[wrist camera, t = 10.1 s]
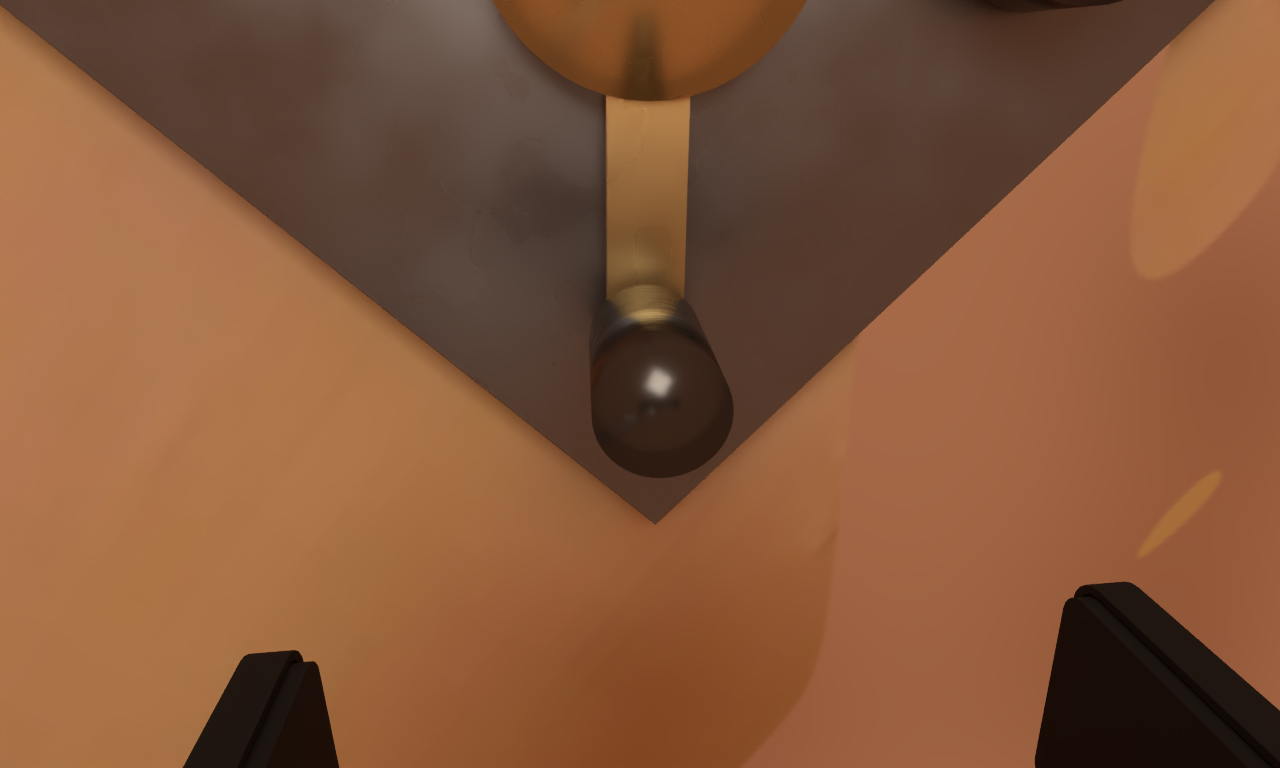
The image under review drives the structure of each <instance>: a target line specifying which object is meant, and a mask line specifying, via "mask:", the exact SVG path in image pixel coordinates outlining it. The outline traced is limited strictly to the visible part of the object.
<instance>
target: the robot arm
mask: <svg viewBox="0 0 1280 768" xmlns="http://www.w3.org/2000/svg"><path fill="white" fill-rule="evenodd" d="M183 768H339V765H338V760H337V755H336V750H335V745H334V740H333V735H332V730H331V725H330V721H329V716H328V711H327V706H326V701H325V696H324V691H323V686H322V681H321V677H320V672H319V668H318V665H317V664H316V662H313V661H311V662H303V658H302V656H301V654H300V653H299V651H296V650H291V651H279V652H267V653H254V654H248V655H246V656H244V657H243V659H242V660H241V661H240V663H239V665H238V666H237V668H236V670H235V672H234V674H233V676H232V678H231V679H230V681H229V683H228V685H227V687H226V689H225V691H224V692H223V694H222V696H221V698H220V700H219V702H218V703H217V705H216V707H215V709H214V711H213V713H212V715H211V716H210V718H209V720H208V722H207V724H206V726H205V728H204V729H203V731H202V733H201V735H200V737H199V739H198V740H197V742H196V744H195V746H194V748H193V750H192V752H191V753H190V755H189V757H188V759H187V761H186V763H185V765H184V766H183ZM1035 768H1280V711H1279V710H1278V709H1277V708H1276V707H1275V706H1274V705H1272V704H1271V703H1270V702H1269V701H1268V700H1267V699H1266V698H1264V697H1263V696H1262V695H1261V694H1260V693H1259V692H1258V691H1256V690H1255V689H1254V688H1253V687H1252V686H1251V685H1250V684H1248V683H1247V682H1246V681H1245V680H1244V679H1243V678H1242V677H1240V676H1239V675H1238V674H1237V673H1236V672H1235V671H1233V670H1232V669H1231V668H1230V667H1229V666H1228V665H1227V664H1226V663H1224V662H1223V661H1222V660H1221V659H1220V658H1219V657H1218V656H1216V655H1215V654H1214V653H1213V652H1212V651H1211V650H1210V649H1208V648H1207V647H1206V646H1205V645H1204V644H1203V643H1202V642H1200V641H1199V640H1198V639H1197V638H1195V636H1194V635H1192V634H1191V633H1190V632H1189V631H1188V630H1187V629H1185V628H1184V627H1183V626H1182V625H1181V624H1180V623H1178V622H1177V621H1176V620H1175V619H1174V618H1173V617H1172V616H1171V615H1169V614H1168V613H1167V612H1166V611H1165V610H1164V609H1163V608H1161V607H1160V606H1159V605H1158V604H1157V603H1156V602H1155V601H1153V600H1152V599H1151V598H1150V597H1149V596H1147V594H1145V593H1144V592H1143V591H1142V590H1141V589H1140V588H1138V587H1137V586H1135V585H1134V584H1132V583H1129V582H1115V583H1103V584H1091V585H1084V586H1081V587H1079V589H1078V590H1077V591H1076V592H1075V595H1074V598H1070V599H1068V600H1067V601H1066V602H1065V605H1064V608H1063V613H1062V618H1061V623H1060V628H1059V634H1058V639H1057V644H1056V649H1055V655H1054V660H1053V665H1052V671H1051V676H1050V681H1049V686H1048V692H1047V697H1046V703H1045V707H1044V713H1043V718H1042V723H1041V728H1040V734H1039V739H1038V745H1037V750H1036V755H1035Z"/></svg>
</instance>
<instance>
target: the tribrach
mask: <svg viewBox="0 0 1280 768" xmlns="http://www.w3.org/2000/svg"><path fill="white" fill-rule="evenodd" d="M1213 1H1215V0H807V1H806V3H805V5H804V7H803V8H802V10H801V12H800V13H799V15H798V16H797V18H796V19H795V21H794V22H793V23H792V25H791V26H790V28H789V29H788V31H787V32H786V33H785V34H784V35H783V36H782V38H781V39H780V40H779V41H778V42H777V43H776V44H775V46H774V47H773V48H772V49H771V50H770V51H769V52H768V53H766V54H765V55H764V56H763V57H762V58H761V59H760V60H759V61H758V62H756V63H755V64H754V65H753V66H751V67H750V68H748V69H747V70H746V71H744V72H743V73H741V74H740V75H738V76H737V77H735V78H734V79H732V80H730V81H728V82H726V83H724V84H722V85H720V86H718V87H716V88H714V89H711V90H708V91H705V92H702V93H699V94H697V95H694V96H690V120H689V152H688V185H687V217H686V250H685V282H684V299H685V300H686V301H687V302H688V303H689V304H690V305H691V307H692V308H693V310H694V311H695V313H696V315H697V317H698V320H699V322H700V324H701V326H702V328H703V331H704V333H705V335H706V337H707V340H708V342H709V344H710V346H711V348H712V351H713V353H714V355H715V357H716V359H717V362H718V364H719V366H720V368H721V371H722V373H723V375H724V377H725V379H726V382H727V384H728V386H729V388H730V391H731V394H732V399H733V405H734V415H733V422H732V426H731V430H730V432H729V435H728V437H727V439H726V441H725V443H724V444H723V446H722V447H721V448H720V450H719V451H718V452H717V453H716V454H715V455H714V456H713V457H712V458H711V459H710V460H709V461H708V462H706V463H705V464H704V465H702V466H701V467H699V468H697V469H695V470H693V471H691V472H689V473H686V474H683V475H680V476H675V477H670V478H650V477H644V476H640V475H636V474H634V473H631V472H629V471H627V470H625V469H623V468H621V467H620V466H618V465H617V464H616V463H614V462H613V461H612V460H611V459H610V458H609V457H608V456H607V455H606V454H605V453H604V451H603V450H602V449H601V447H600V445H599V443H598V442H597V439H596V437H595V434H594V430H593V426H592V416H591V388H590V359H589V332H590V327H591V324H592V321H593V318H594V316H595V314H596V312H597V311H598V309H599V308H600V307H601V306H602V304H603V303H604V302H605V301H606V233H605V95H604V94H601V93H598V92H596V91H593V90H590V89H587V88H585V87H583V86H581V85H579V84H577V83H575V82H573V81H571V80H569V79H567V78H565V77H564V76H562V75H561V74H559V73H558V72H556V71H555V70H554V69H552V68H551V67H549V66H548V65H547V64H545V63H544V62H543V61H542V60H540V59H539V58H538V57H537V56H536V55H535V54H534V53H533V52H532V51H531V50H530V49H529V48H527V47H526V46H525V44H524V43H523V42H522V41H521V40H520V39H519V37H518V36H517V35H516V34H515V33H514V31H513V30H512V29H511V28H510V27H509V25H508V24H507V22H506V21H505V19H504V18H503V16H502V15H501V13H500V12H499V10H498V8H497V7H496V5H495V3H494V1H493V0H0V5H1V6H2V7H4V8H5V9H6V10H7V11H9V12H10V13H11V14H12V15H14V16H15V17H16V18H18V19H19V20H20V21H21V22H23V23H24V24H25V25H26V26H28V27H29V28H30V29H31V30H33V31H34V32H35V33H36V34H38V35H39V36H40V37H41V38H43V39H44V40H45V41H47V42H48V43H49V44H50V45H52V46H53V47H54V48H55V49H57V50H58V51H59V52H60V53H62V54H63V55H64V56H65V57H67V58H68V59H69V60H70V61H72V62H73V63H74V64H76V65H77V66H78V67H79V68H81V69H82V70H83V71H84V72H86V73H87V74H88V75H89V76H91V77H92V78H93V79H94V80H96V81H97V82H98V83H99V84H101V85H102V86H103V87H105V88H106V89H107V90H108V91H110V92H111V93H112V94H113V95H115V96H116V97H117V98H118V99H120V100H121V101H122V102H123V103H125V104H126V105H127V106H128V107H130V108H131V109H132V110H134V111H135V112H136V113H137V114H139V115H140V116H141V117H142V118H144V119H145V120H146V121H147V122H149V123H150V124H151V125H152V126H154V127H155V128H156V129H158V130H159V131H160V132H161V133H163V134H164V135H165V136H166V137H168V138H169V139H170V140H171V141H173V142H174V143H175V144H176V145H178V146H179V147H180V148H181V149H183V150H184V151H185V152H187V153H188V154H189V155H190V156H192V157H193V158H194V159H195V160H197V161H198V162H199V163H200V164H202V165H203V166H204V167H205V168H207V169H208V170H209V171H210V172H212V173H213V174H214V175H216V176H217V177H218V178H219V179H221V180H222V181H223V182H224V183H226V184H227V185H228V186H229V187H231V188H232V189H233V190H234V191H236V192H237V193H238V194H239V195H241V196H242V197H243V198H245V199H246V200H247V201H248V202H250V203H251V204H252V205H253V206H255V207H256V208H257V209H258V210H260V211H261V212H262V213H263V214H265V215H266V216H267V217H268V218H270V219H271V220H272V221H274V222H275V223H276V224H277V225H279V226H280V227H281V228H282V229H284V230H285V231H286V232H287V233H289V234H290V235H291V236H292V237H294V238H295V239H296V240H297V241H299V242H300V243H301V244H303V245H304V246H305V247H306V248H308V249H309V250H310V251H311V252H313V253H314V254H315V255H316V256H318V257H319V258H320V259H321V260H323V261H324V262H325V263H326V264H328V265H329V266H330V267H332V268H333V269H334V270H335V271H337V272H338V273H339V274H340V275H342V276H343V277H344V278H345V279H347V280H348V281H349V282H350V283H352V284H353V285H354V286H355V287H357V288H358V289H359V290H361V291H362V292H363V293H364V294H366V295H367V296H368V297H369V298H371V299H372V300H373V301H374V302H376V303H377V304H378V305H379V306H381V307H382V308H383V309H384V310H386V311H387V312H388V313H390V314H391V315H392V316H393V317H395V318H396V319H397V320H398V321H400V322H401V323H402V324H403V325H405V326H406V327H407V328H408V329H410V330H411V331H412V332H413V333H415V334H416V335H417V336H419V337H420V338H421V339H422V340H424V341H425V342H426V343H427V344H429V345H430V346H431V347H432V348H434V349H435V350H436V351H437V352H439V353H440V354H441V355H443V356H444V357H445V358H446V359H448V360H449V361H450V362H451V363H453V364H454V365H455V366H456V367H458V368H459V369H460V370H461V371H463V372H464V373H465V374H466V375H468V376H469V377H470V378H472V379H473V380H474V381H475V382H477V383H478V384H479V385H480V386H482V387H483V388H484V389H485V390H487V391H488V392H489V393H490V394H492V395H493V396H494V397H495V398H497V399H498V400H499V401H501V402H502V403H503V404H504V405H506V406H507V407H508V408H509V409H511V410H512V411H513V412H514V413H516V414H517V415H518V416H519V417H521V418H522V419H523V420H524V421H526V422H527V423H528V424H530V425H531V426H532V427H533V428H535V429H536V430H537V431H538V432H540V433H541V434H542V435H543V436H545V437H546V438H547V439H548V440H550V441H551V442H552V443H553V444H555V445H556V446H557V447H559V448H560V449H561V450H562V451H564V452H565V453H566V454H567V455H569V456H570V457H571V458H572V459H574V460H575V461H576V462H577V463H579V464H580V465H581V466H582V467H584V468H585V469H586V470H588V471H589V472H590V473H591V474H593V475H594V476H595V477H596V478H598V479H599V480H600V481H601V482H603V483H604V484H605V485H606V486H608V487H609V488H610V489H611V490H613V491H614V492H615V493H617V494H618V495H619V496H620V497H622V498H623V499H624V500H625V501H627V502H628V503H629V504H630V505H632V506H633V507H634V508H635V509H637V510H638V511H639V512H640V513H642V514H643V515H644V516H646V517H647V518H648V519H649V520H651V521H652V522H653V523H654V524H656V523H658V522H659V521H660V520H661V519H662V518H663V517H664V516H665V515H666V514H667V513H668V512H669V511H670V510H671V509H672V508H674V507H675V506H676V505H677V504H678V503H679V502H680V501H681V500H682V499H683V498H684V497H685V496H686V495H687V494H688V493H690V492H691V491H692V490H693V489H694V488H695V487H696V486H697V485H698V484H699V483H700V482H701V481H702V480H703V479H704V478H706V477H707V476H708V475H709V474H710V473H711V472H712V471H713V470H714V469H715V468H716V467H717V466H718V465H719V464H720V463H722V462H723V461H724V460H725V459H726V458H727V457H728V456H729V455H730V454H731V453H732V452H733V451H734V450H735V449H736V448H738V447H739V446H740V445H741V444H742V443H743V442H744V441H745V440H746V439H747V438H748V437H749V436H750V435H751V434H752V433H754V432H755V431H756V430H757V429H758V428H759V427H760V426H761V425H762V424H763V423H764V422H765V421H766V420H767V419H768V418H770V417H771V416H772V415H773V414H774V413H775V412H776V411H777V410H778V409H779V408H780V407H781V406H782V405H783V404H784V403H786V402H787V401H788V400H789V399H790V398H791V397H792V396H793V395H794V394H795V393H796V392H797V391H798V390H799V389H801V388H802V387H803V386H804V385H805V384H806V383H807V382H808V381H809V380H810V379H811V378H812V377H813V376H814V375H815V374H817V373H818V372H819V371H820V370H821V369H822V368H823V367H824V366H825V365H826V364H827V363H828V362H829V361H830V360H831V359H833V358H834V357H835V356H836V355H837V354H838V353H839V352H840V351H841V350H842V349H843V348H844V347H845V346H846V345H847V344H849V343H850V342H851V341H852V340H853V339H854V338H855V337H856V336H857V335H858V334H859V333H860V332H861V331H862V330H863V329H865V328H866V326H868V325H869V324H870V323H871V322H872V321H873V320H874V319H875V318H876V317H877V316H878V315H879V314H881V313H882V312H883V311H884V310H885V309H886V308H887V307H888V306H889V305H890V304H891V303H892V302H893V301H894V300H895V299H896V298H898V297H899V296H900V295H901V294H902V293H903V292H904V291H905V290H906V289H907V288H908V287H909V286H910V285H911V284H913V283H914V282H915V281H916V280H917V279H918V278H919V277H920V276H921V275H922V274H923V273H924V272H925V271H926V270H927V269H929V267H931V266H932V265H933V264H934V263H935V262H936V261H937V260H938V259H939V258H940V257H941V256H942V255H943V254H945V253H946V252H947V251H948V250H949V249H950V248H951V247H952V246H953V245H954V244H955V243H956V242H957V241H958V240H960V238H962V237H963V236H964V235H965V234H966V233H967V232H968V231H969V230H970V229H971V228H972V227H973V226H974V225H975V224H977V222H979V221H980V220H981V219H982V218H983V217H984V216H985V215H986V214H987V213H988V212H989V211H990V210H991V209H992V208H994V207H995V206H996V205H997V204H998V203H999V202H1000V201H1001V200H1002V199H1003V198H1004V197H1005V196H1006V195H1007V194H1008V193H1010V192H1011V191H1012V190H1013V189H1014V188H1015V187H1016V186H1017V185H1018V184H1019V183H1020V182H1021V181H1022V180H1024V179H1025V177H1027V176H1028V175H1029V174H1030V173H1031V172H1032V171H1033V170H1034V169H1035V168H1036V167H1037V166H1038V165H1039V164H1041V163H1042V162H1043V161H1044V160H1045V159H1046V158H1047V157H1048V156H1049V155H1050V154H1051V153H1052V152H1053V151H1054V150H1055V149H1057V148H1058V147H1059V146H1060V145H1061V144H1062V143H1063V142H1064V141H1065V140H1066V139H1067V138H1068V137H1069V136H1070V135H1072V134H1073V133H1074V132H1075V131H1076V130H1077V129H1078V128H1079V127H1080V126H1081V125H1082V124H1083V123H1084V122H1085V121H1086V120H1088V119H1089V118H1090V117H1091V116H1092V115H1093V114H1094V113H1095V112H1096V111H1097V110H1098V109H1099V108H1100V107H1101V106H1102V105H1104V104H1105V103H1106V102H1107V101H1108V100H1109V99H1110V98H1111V97H1112V96H1113V95H1114V94H1115V93H1116V92H1117V91H1119V90H1120V89H1121V88H1122V87H1123V86H1124V85H1125V84H1126V83H1127V82H1128V81H1129V80H1130V79H1131V78H1132V77H1133V76H1135V75H1136V74H1137V73H1138V72H1139V71H1140V70H1141V69H1142V68H1143V67H1144V66H1145V65H1146V64H1147V63H1148V62H1149V61H1151V60H1152V59H1153V58H1154V57H1155V56H1156V55H1157V54H1158V53H1159V52H1160V51H1161V50H1162V49H1163V48H1164V47H1165V46H1167V45H1168V44H1169V43H1170V42H1171V41H1172V40H1173V39H1174V38H1175V37H1176V36H1177V35H1178V34H1179V33H1180V32H1181V31H1183V30H1184V29H1185V28H1186V27H1187V26H1188V25H1189V24H1190V23H1191V22H1192V21H1193V20H1194V19H1195V18H1196V17H1197V16H1199V15H1200V14H1201V13H1202V12H1203V11H1204V10H1205V9H1206V8H1207V7H1208V6H1209V5H1210V4H1211V3H1212V2H1213Z"/></svg>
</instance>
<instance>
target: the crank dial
mask: <svg viewBox="0 0 1280 768" xmlns="http://www.w3.org/2000/svg"><path fill="white" fill-rule="evenodd" d="M493 1H494V3H495V5H496V7H497V8H498V10H499V12H500V13H501V15H502V16H503V18H504V19H505V21H506V22H507V24H508V25H509V27H510V28H511V29H512V30H513V31H514V33H515V34H516V35H517V36H518V37H519V39H520V40H521V41H522V42H523V43H524V44H525V46H526V47H527V48H529V49H530V50H531V51H532V52H533V53H534V54H535V55H536V56H537V57H538V58H539V59H540V60H542V61H543V62H544V63H545V64H547V65H548V66H549V67H551V68H552V69H554V70H555V71H556V72H558V73H559V74H561V75H562V76H564V77H565V78H567V79H569V80H571V81H573V82H575V83H577V84H579V85H581V86H583V87H585V88H587V89H590V90H593V91H596V92H598V93H601V94H604V95H605V233H606V301H605V302H604V303H603V304H602V306H601V307H600V308H599V309H598V311H597V312H596V314H595V316H594V318H593V321H592V324H591V327H590V332H589V359H590V388H591V416H592V426H593V430H594V434H595V437H596V439H597V442H598V443H599V445H600V447H601V449H602V450H603V451H604V453H605V454H606V455H607V456H608V457H609V458H610V459H611V460H612V461H613V462H614V463H616V464H617V465H618V466H620V467H621V468H623V469H625V470H627V471H629V472H631V473H634V474H636V475H640V476H644V477H650V478H670V477H675V476H680V475H683V474H686V473H689V472H691V471H693V470H695V469H697V468H699V467H701V466H702V465H704V464H705V463H706V462H708V461H709V460H710V459H711V458H712V457H713V456H714V455H715V454H716V453H717V452H718V451H719V450H720V448H721V447H722V446H723V444H724V443H725V441H726V439H727V437H728V435H729V432H730V430H731V426H732V422H733V415H734V405H733V399H732V394H731V391H730V388H729V386H728V384H727V382H726V379H725V377H724V375H723V373H722V371H721V368H720V366H719V364H718V362H717V359H716V357H715V355H714V353H713V351H712V348H711V346H710V344H709V342H708V340H707V337H706V335H705V333H704V331H703V328H702V326H701V324H700V322H699V320H698V317H697V315H696V313H695V311H694V310H693V308H692V307H691V305H690V304H689V303H688V302H687V301H686V300H685V299H684V282H685V250H686V217H687V185H688V152H689V120H690V96H694V95H697V94H699V93H702V92H705V91H708V90H711V89H714V88H716V87H718V86H720V85H722V84H724V83H726V82H728V81H730V80H732V79H734V78H735V77H737V76H738V75H740V74H741V73H743V72H744V71H746V70H747V69H748V68H750V67H751V66H753V65H754V64H755V63H756V62H758V61H759V60H760V59H761V58H762V57H763V56H764V55H765V54H766V53H768V52H769V51H770V50H771V49H772V48H773V47H774V46H775V44H776V43H777V42H778V41H779V40H780V39H781V38H782V36H783V35H784V34H785V33H786V32H787V31H788V29H789V28H790V26H791V25H792V23H793V22H794V21H795V19H796V18H797V16H798V15H799V13H800V12H801V10H802V8H803V7H804V5H805V3H806V1H807V0H493Z"/></svg>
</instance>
